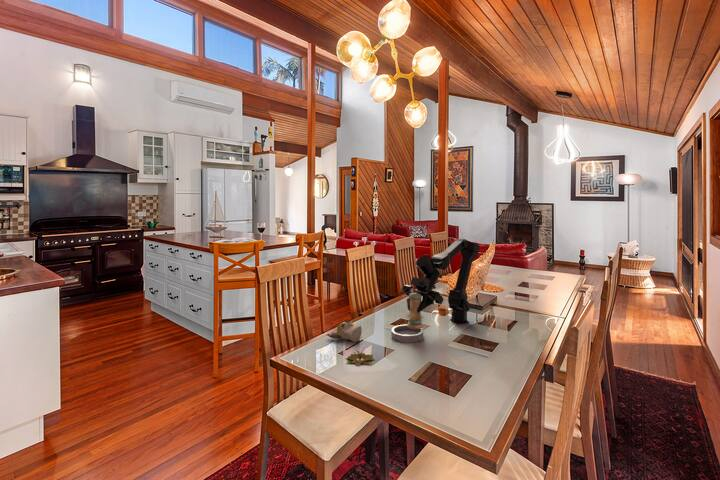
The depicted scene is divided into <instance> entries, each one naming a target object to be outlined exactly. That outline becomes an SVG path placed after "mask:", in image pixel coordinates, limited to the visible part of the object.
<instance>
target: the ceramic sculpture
mask: <svg viewBox="0 0 720 480" xmlns="http://www.w3.org/2000/svg"><path fill="white" fill-rule="evenodd" d="M326 336H327V337H330V338H331V339H334V340H338V339H339V340H340V339H341V340H344V341H345V340H346V341H347V340H350V341H351V342H353V343H357V342H358V341H360V339H361V338H362V325H356V326H355V325H354V324H353V322H352V321H350V320H348V319H347V320H346V321H343V322H341V323H340V324H338V325H337V327H336V331H333V332H331V333H327V334H326Z"/></svg>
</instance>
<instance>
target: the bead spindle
mask: <svg viewBox="0 0 720 480" xmlns="http://www.w3.org/2000/svg"><path fill="white" fill-rule="evenodd" d="M408 298H409V299H410V311H409V318H408V322H407V325H408V327H409V328H412V329H420V328H422V329H423V328H424V323H423V322H422V318H421V311H420V312H419V313H418V312H417V309H418V307H419V305H420V299H421V300H422V296H421V295H420V293H410V295H409V296H408Z"/></svg>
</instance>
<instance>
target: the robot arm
mask: <svg viewBox="0 0 720 480" xmlns="http://www.w3.org/2000/svg"><path fill="white" fill-rule="evenodd" d="M480 250H481V247H480V245H479V244H478V242H474V241H473V242H472V241H470V240H468V239H465V238H456V239H455V240H454V242H453V243H451V244H450V245H449V246H448V247H447V248H445V250H444V251H442V252H440V253H436V254H435V255H432V256H431V257H430V255H429V254H424V255H423V256H422V255H421V256H420V257H418V259H416V261H415V265H416V267H417V268H418V269H419V271H420V272H421V273H422V275H424V276H423V277H415V276H412V277H411V281H410V285H408V284H404V285H403V286H402V288H401V290H402V291H403V293H404V294H405V295H406V296H407V297H409V295H410V293H420V295H421V303H420V305H419V307H418V309H417V312H418V313H419V312H420V313H421V312H422V311H423V310H425V309H426V308H427V307H430V306H431V305H434V304H437V305H443V302H444V297H443V296H442V294H441V293H440V292H439V291H437V290H435V289H436V287H437V286H436V283H437V282H438V280H439V279H443V274H442V272H441V271H445V270H447V269H448V267H449V266H450V265H451V261H452V259H453V258H454V257H455V256H457V255H458V254H459V253H460V256H461V262H460V266H459V271H458V275H457V279H456V283H455V287H454V288H452V289H450V290H449V293H448V294H449V295H448V297H447V302H448V307H449V309H451V310H452V311H451V318H450V321H451V322H453V323H455V324H456V325H460V324H466V323H469V322H470V321H469V320H468V312H469V311H470V310H471V304H470V302H469V301H468V294H467V285H468V282H469V278H470V275H471V274H470V273H471V269H472V266H473V261H474V260H475V259H476V258H478V255H479V253H480ZM440 270H441V271H440ZM412 285H413V286H414V287H413V286H412ZM433 289H434V290H433ZM407 310H408V311H409V310H410V299H409V305H408V307H407Z"/></svg>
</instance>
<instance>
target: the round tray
mask: <svg viewBox="0 0 720 480" xmlns="http://www.w3.org/2000/svg"><path fill="white" fill-rule="evenodd" d="M390 335H391V339H393V340H394V341H396V342H398V343H405V344H407V343H408V344H409V343H410V344H413V343H418V342H421V341H422V340H424V328H423V327H422V328H420V329H412V328H409V327H408V324H400V325H398V324H397V325H395V326H394V327H392V328H391V331H390Z"/></svg>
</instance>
